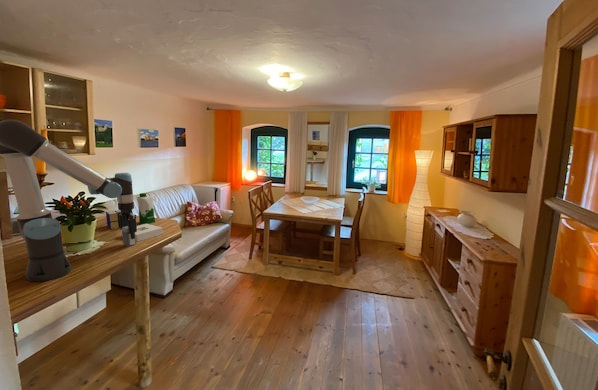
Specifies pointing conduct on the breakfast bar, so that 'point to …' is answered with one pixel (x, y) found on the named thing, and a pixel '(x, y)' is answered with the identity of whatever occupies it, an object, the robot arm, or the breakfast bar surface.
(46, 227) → the robot arm
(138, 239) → the socket plate
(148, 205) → the milk carton
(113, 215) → the puzzle cube
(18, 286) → the breakfast bar surface
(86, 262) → the breakfast bar surface
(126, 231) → the plug
